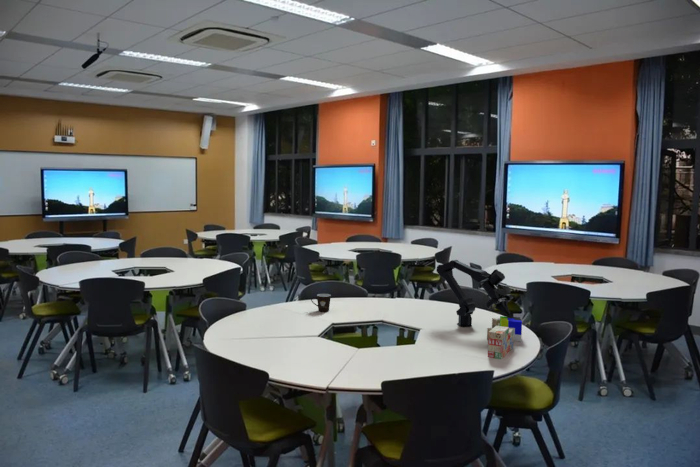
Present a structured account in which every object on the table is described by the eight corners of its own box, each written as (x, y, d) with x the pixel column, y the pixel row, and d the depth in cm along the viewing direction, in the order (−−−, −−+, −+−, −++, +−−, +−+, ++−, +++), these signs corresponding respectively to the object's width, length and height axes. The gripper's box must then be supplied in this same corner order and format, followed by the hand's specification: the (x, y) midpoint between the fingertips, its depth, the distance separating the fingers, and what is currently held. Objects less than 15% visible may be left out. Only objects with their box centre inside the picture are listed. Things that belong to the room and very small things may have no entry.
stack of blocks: (500, 345, 261) (501, 321, 260) (513, 347, 258) (514, 323, 257) (487, 357, 243) (488, 331, 242) (501, 359, 239) (502, 333, 238)
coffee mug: (333, 310, 328) (333, 294, 328) (325, 313, 321) (325, 297, 320) (318, 308, 335) (318, 292, 334) (310, 310, 327) (310, 294, 327)
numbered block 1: (496, 331, 286) (496, 320, 286) (491, 328, 291) (492, 317, 291) (504, 331, 287) (505, 319, 287) (500, 328, 292) (500, 317, 292)
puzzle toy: (521, 341, 268) (522, 322, 268) (500, 339, 271) (501, 320, 270) (519, 335, 278) (519, 317, 277) (499, 334, 280) (500, 316, 279)
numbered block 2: (491, 342, 265) (492, 330, 265) (486, 339, 271) (487, 327, 270) (500, 342, 266) (501, 330, 266) (495, 339, 271) (496, 327, 271)
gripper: (491, 283, 272) (510, 308, 265) (510, 279, 285) (528, 303, 278) (478, 296, 279) (495, 320, 272) (497, 291, 291) (514, 314, 284)
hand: (509, 314), depth 276 cm, fingers closed
